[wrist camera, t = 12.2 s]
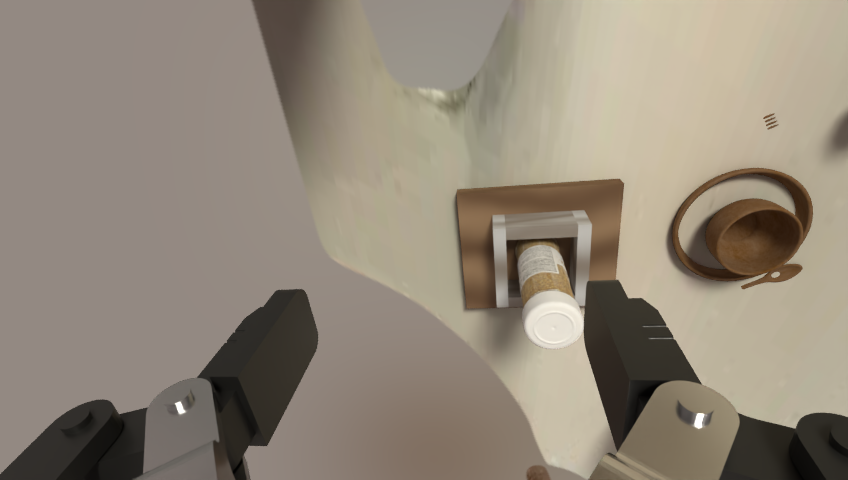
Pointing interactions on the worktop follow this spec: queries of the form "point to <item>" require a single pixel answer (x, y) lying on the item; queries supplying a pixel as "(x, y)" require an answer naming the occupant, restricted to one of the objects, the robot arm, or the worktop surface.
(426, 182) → the worktop surface
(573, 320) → the sprinkles bottle
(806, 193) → the place setting
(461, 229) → the socket
